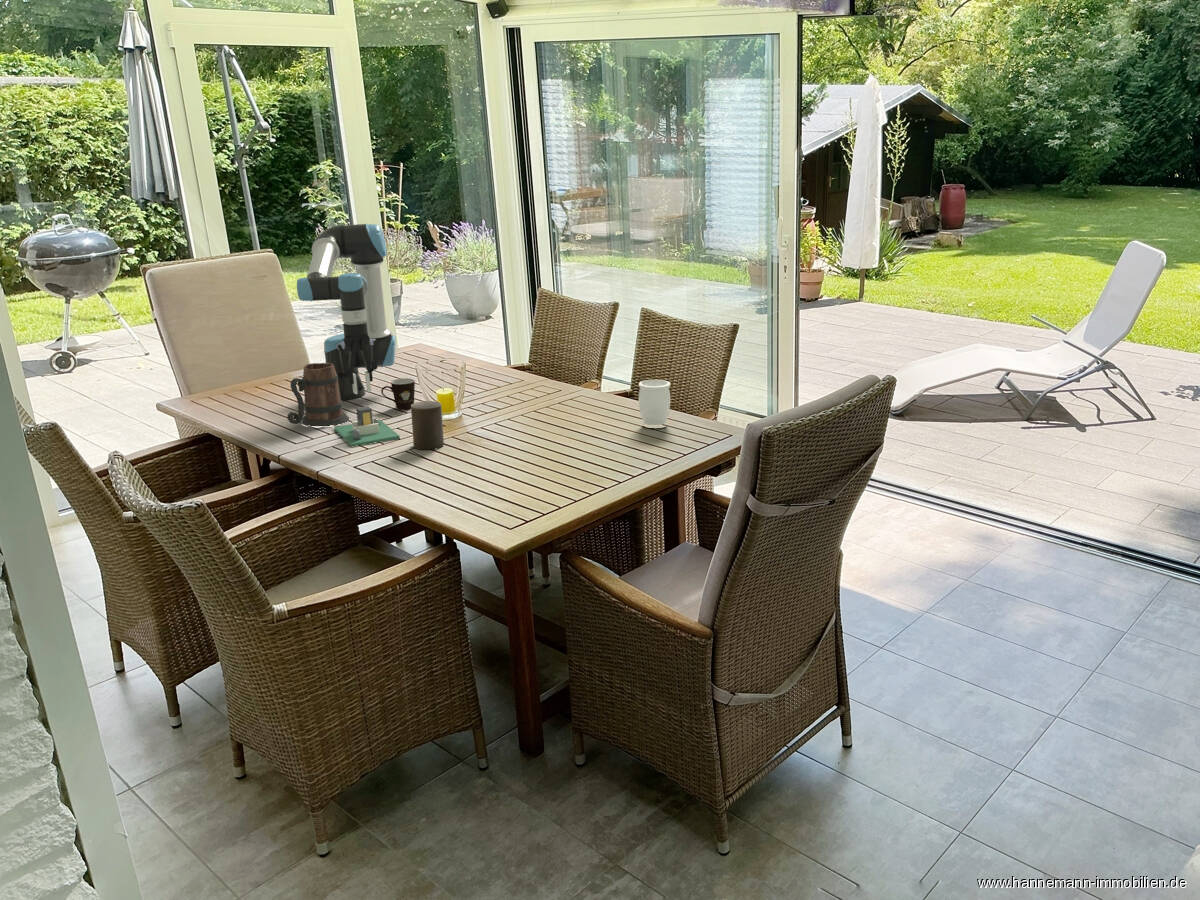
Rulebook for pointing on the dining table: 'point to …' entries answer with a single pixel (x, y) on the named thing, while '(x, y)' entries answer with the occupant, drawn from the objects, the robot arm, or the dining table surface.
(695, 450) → the dining table surface
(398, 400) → the coffee mug
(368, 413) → the plug
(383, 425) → the board
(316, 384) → the tankard
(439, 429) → the pillar candle
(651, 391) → the jar
